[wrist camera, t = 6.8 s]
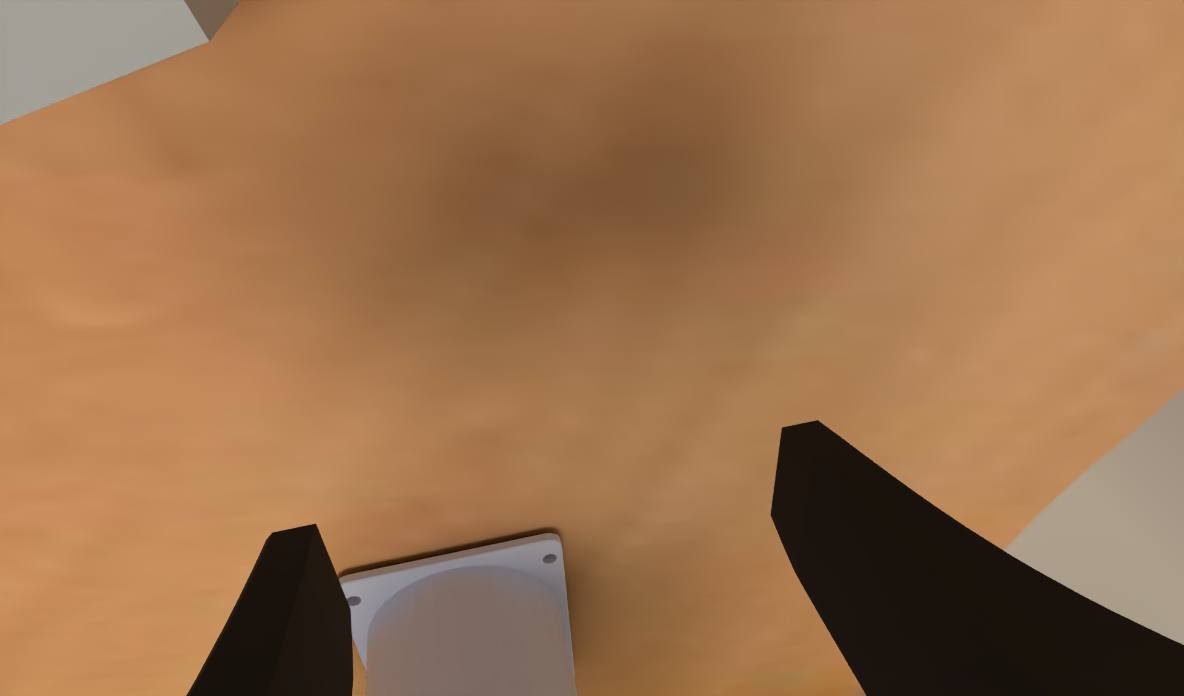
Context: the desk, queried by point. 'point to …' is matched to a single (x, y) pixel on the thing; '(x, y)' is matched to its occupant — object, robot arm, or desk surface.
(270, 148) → the desk surface
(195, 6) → the grey cube
